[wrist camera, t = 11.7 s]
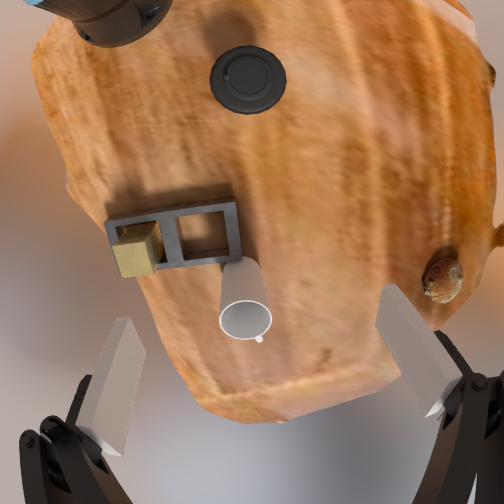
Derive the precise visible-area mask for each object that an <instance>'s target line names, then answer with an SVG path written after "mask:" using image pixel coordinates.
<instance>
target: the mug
mask: <svg viewBox="0 0 504 504" xmlns="http://www.w3.org/2000/svg"><path fill="white" fill-rule="evenodd" d="M242 259H243V260H238V261H229V262H227V263H226V265H225V267H224V269H223V276H222V288H221V301H220V317H219V323H220V326H221V328H222V330H223V331H224V332H225V333H226V334H227V335H229V336H231V337H233V338H236V339H243V340H247V339H253V338H255V339H256V341H257V342H262V341H263V334H264V333H265V332H266V331H267V330H268V329H269V327H270V325H271V322H272V316H271V311H270V306H269V301H268V297H267V293H266V289H265V284H264V280H263V276H262V272H261V269H260V266H259V264H258V263H257V262H256V261H255V260H253V259H252V258H249V257H245V256H242Z"/></svg>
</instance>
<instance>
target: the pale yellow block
mask: <svg viewBox="0 0 504 504" xmlns="http://www.w3.org/2000/svg"><path fill="white" fill-rule="evenodd" d="M112 248H113V251H114V254H115V257H116V260H117V263H118V266H119V269H120V272H121V275H122V277H123V278H124V277H134V276H144V275H154V273H155V270H156V268H157V266H158V264H159V261H160V259H161V257H162V255H163V253H164V250H163V246H162V242H161V238H160V233H159V229H158V225H157V223H150V224H143V225H137V226H130V227H127V229H126V230H125V231H124V232H123V233H122V235H121V236H120V237H119V238H118V239H117V241H116V242H115V243H114V244H113V246H112Z"/></svg>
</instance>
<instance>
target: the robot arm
mask: <svg viewBox="0 0 504 504" xmlns="http://www.w3.org/2000/svg"><path fill="white" fill-rule="evenodd" d="M24 1H25V2H26V3H27V4H29V5H33V6H36V7H38V8H41V9H44V10H47V11H49V12H52V13H54V14H57V15H59V16H62V17H64V18H67V19H69V20H71V21H72V23H73V25H74V27H75V29H76V30H77V32H78V34H79V35H80V36H81V38H83V39H84V40H85V41H87V42H89V43H91V44H93V45H96V46H99V47H104V48H112V47H119V46H123V45H126V44H129V43H131V42H134V41H136V40H138V39H140V38H141V37H143V36H144V35H146V34H147V33H149V32H150V31H151V30H153V29H154V28H155V27H156V26H157V25H158V24H159V23H160V22H161V21H162V19H163V18H164V17H165V15H166V14H167V12H168V11H169V9H170V6H171V4H172V1H173V0H24ZM375 326H376V328H377V330H378V331H379V333H380V335H381V336H382V338H383V340H384V342H385V343H386V345H387V347H388V349H389V350H390V352H391V354H392V356H393V358H394V359H395V361H396V363H397V365H398V367H399V369H400V370H401V372H402V374H403V376H404V378H405V380H406V382H407V383H408V385H409V387H410V389H411V391H412V393H413V395H414V397H415V399H416V401H417V403H418V405H419V407H420V409H421V411H422V413H423V415H424V417H427V416H429V415H431V414H433V413H436V412H438V410H439V409H440V408H441V407H442V405H444V407H445V411H444V412H443V413H442V414H441V415H440V417H439V418H438V420H437V422H439V421H440V420H441V419H442V420H441V424H440V428H439V432H438V435H437V439H436V442H435V445H434V448H433V452H432V455H431V458H430V461H429V463H428V466H427V469H426V471H425V474H424V477H423V479H422V482H421V484H420V487H419V489H418V491H417V494H416V496H415V498H414V500H413V502H412V504H467V503H468V499H469V496H470V494H471V490H472V487H473V484H474V480H475V477H476V473H477V483H476V493H475V501H474V504H504V370H503V372H502V373H501V374H500V376H497V377H491V378H486V377H485V376H484V375H482V374H480V373H474V372H473V371H472V370H471V369H470V367H469V365H468V364H467V363H466V361H465V360H464V358H463V357H462V355H461V354H460V353H459V351H457V348H456V347H455V346H454V345H453V343H452V342H451V340H450V339H449V338H448V336H447V335H445V334H444V333H442V332H441V331H440V330H438V331H435V332H433V331H432V330H431V329H430V327H429V326H428V325H427V323H426V322H425V321H424V319H423V318H422V317H421V315H420V314H419V313H418V312H417V310H416V309H415V308H414V306H413V305H412V304H411V303H410V301H409V300H408V299H407V298H406V296H405V295H404V294H403V293H402V291H401V290H400V289H399V288H398V287H397V285H396V284H390V285H385V286H383V289H382V294H381V299H380V304H379V309H378V313H377V318H376V322H375ZM146 354H147V353H146V351H145V349H144V347H143V345H142V343H141V341H140V339H139V337H138V334H137V332H136V330H135V328H134V325H133V323H132V321H131V319H130V317H117V319H116V321H115V323H114V326H113V328H112V330H111V332H110V335H109V337H108V339H107V342H106V344H105V346H104V349H103V351H102V353H101V356H100V358H99V361H98V363H97V366H96V368H95V371H94V373H93V375H86V376H85V377H84V378H83V379H82V380H81V382H80V384H79V386H78V389H77V393H76V394H75V396H74V400H73V402H72V405H71V407H70V410H69V413H68V416H67V418H66V421H65V422H63V421H62V420H61V419H60V418H59V417H57V416H53V415H52V416H48V417H47V418H45V419H44V420H43V421H42V423H41V425H40V434H41V435H39V434H37V433H36V432H35V431H33V430H26V431H24V432H23V433H22V435H21V437H20V440H19V451H20V466H21V476H22V484H23V491H24V497H25V503H26V504H133V503H132V502H131V500H130V499H129V497H128V496H127V494H126V493H125V491H124V490H123V489H122V487H121V485H120V484H119V482H118V481H117V479H116V477H115V476H114V474H113V473H112V471H111V469H110V467H109V466H108V464H107V462H106V461H105V459H104V457H103V456H102V455H101V452H102V449H103V450H104V451H105V452H107V453H108V454H111V455H117V456H123V454H124V448H125V443H126V438H127V433H128V427H129V423H130V419H131V414H132V410H133V405H134V401H135V396H136V392H137V388H138V384H139V380H140V376H141V372H142V369H143V365H144V361H145V357H146ZM500 412H501V413H500Z"/></svg>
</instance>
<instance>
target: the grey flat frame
mask: <svg viewBox="0 0 504 504" xmlns="http://www.w3.org/2000/svg"><path fill="white" fill-rule="evenodd" d="M215 211H224V218H225V225H226V232H227V239H228V245H229V248H225V249H217V250H209V251H200V252H192V253H186V250H185V246H184V241H183V237H182V232H181V227H180V222H179V216H186V215H193V214H200V213H208V212H215ZM153 220H158V224H159V228H160V232H161V236H162V240H163V244H164V248H165V252H166V256H162V257H161V259H160V261H159V264H158V266H157V268H156V270H160V269H169V268H178V267H187V266H195V265H204V264H212V263H221V262H229V261H238V260H243V259H242V249H241V241H240V233H239V225H238V217H237V209H236V201H235V197H231V198H223V199H215V200H208V201H201V202H194V203H187V204H180V205H174V206H167V207H161V208H155V209H149V210H143V211H138V212H132V213H127V214H121V215H116V216H111V217H109V218H108V219H107V220H106V221H105V222H104V225H105V229H106V232H107V236H108V239H109V242H110V245H111V248H112V246H113V244H114V243H115V242H116V241H117V239H118V238H119V237H120V236H121V235H122V233H123V232H124V231H123V227H122V226H123V225H128V224H134V223H140V222H147V221H153ZM112 251H113V248H112ZM113 255H114V258H115V261H116V264H117V267H118V269H119V266H118V263H117V260H116V257H115V254H114V251H113ZM119 272H120V269H119ZM120 274H121V272H120Z"/></svg>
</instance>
